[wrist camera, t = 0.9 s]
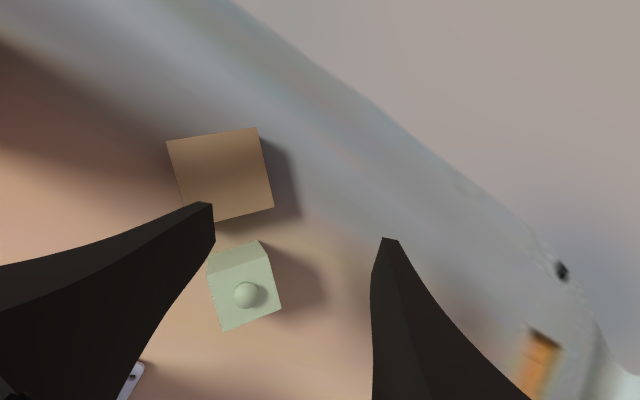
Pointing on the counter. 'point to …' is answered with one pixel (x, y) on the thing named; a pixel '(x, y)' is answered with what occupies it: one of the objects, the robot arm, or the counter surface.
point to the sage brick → (242, 284)
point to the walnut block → (222, 172)
